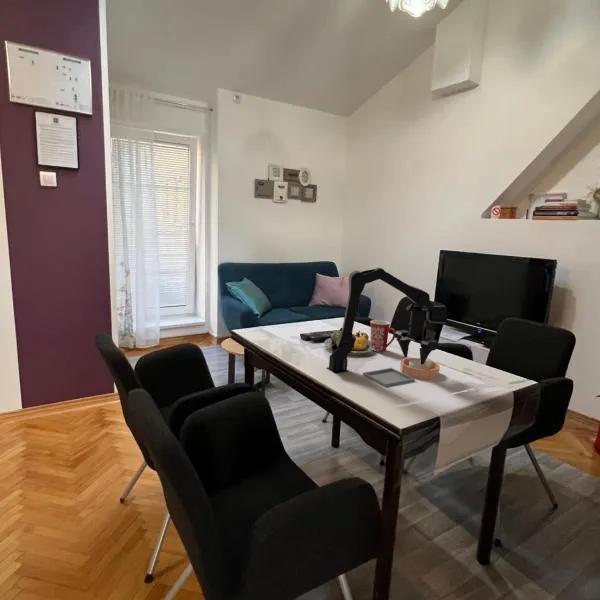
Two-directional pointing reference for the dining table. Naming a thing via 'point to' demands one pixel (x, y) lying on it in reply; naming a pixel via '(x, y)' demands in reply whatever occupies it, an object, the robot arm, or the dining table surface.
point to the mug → (380, 335)
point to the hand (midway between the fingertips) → (413, 360)
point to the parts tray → (388, 377)
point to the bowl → (419, 370)
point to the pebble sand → (426, 365)
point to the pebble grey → (415, 364)
